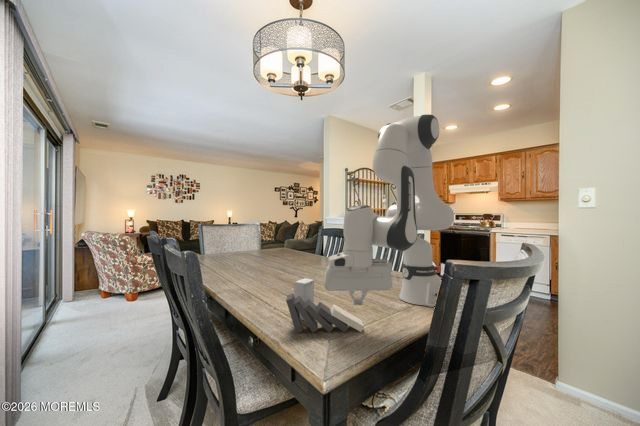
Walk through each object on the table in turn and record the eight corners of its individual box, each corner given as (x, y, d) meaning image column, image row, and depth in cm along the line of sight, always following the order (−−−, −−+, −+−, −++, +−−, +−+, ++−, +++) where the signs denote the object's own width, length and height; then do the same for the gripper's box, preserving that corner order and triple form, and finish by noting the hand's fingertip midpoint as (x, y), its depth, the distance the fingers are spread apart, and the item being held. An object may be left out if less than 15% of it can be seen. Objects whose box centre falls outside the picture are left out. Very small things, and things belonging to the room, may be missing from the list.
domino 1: (302, 323, 79) (293, 293, 78) (302, 331, 74) (292, 298, 73) (297, 325, 79) (287, 294, 78) (296, 333, 74) (286, 300, 73)
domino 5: (360, 319, 79) (333, 303, 79) (364, 326, 74) (334, 309, 74) (357, 324, 79) (330, 308, 79) (361, 332, 74) (331, 315, 74)
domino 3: (331, 321, 79) (308, 298, 79) (333, 328, 74) (308, 304, 74) (327, 325, 79) (304, 302, 79) (329, 332, 74) (304, 309, 74)
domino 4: (345, 320, 79) (320, 301, 79) (348, 327, 74) (321, 307, 74) (342, 325, 79) (316, 306, 79) (344, 332, 74) (317, 312, 74)
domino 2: (317, 322, 79) (299, 295, 78) (317, 329, 74) (299, 301, 73) (312, 325, 79) (294, 298, 78) (312, 333, 74) (294, 304, 73)
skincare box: (303, 320, 82) (304, 283, 82) (293, 317, 84) (293, 281, 84) (314, 314, 87) (314, 279, 87) (304, 311, 89) (304, 277, 89)
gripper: (388, 257, 80) (388, 300, 80) (323, 257, 79) (323, 301, 79) (395, 260, 74) (395, 308, 74) (325, 260, 73) (324, 309, 73)
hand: (357, 304), depth 77 cm, fingers closed
